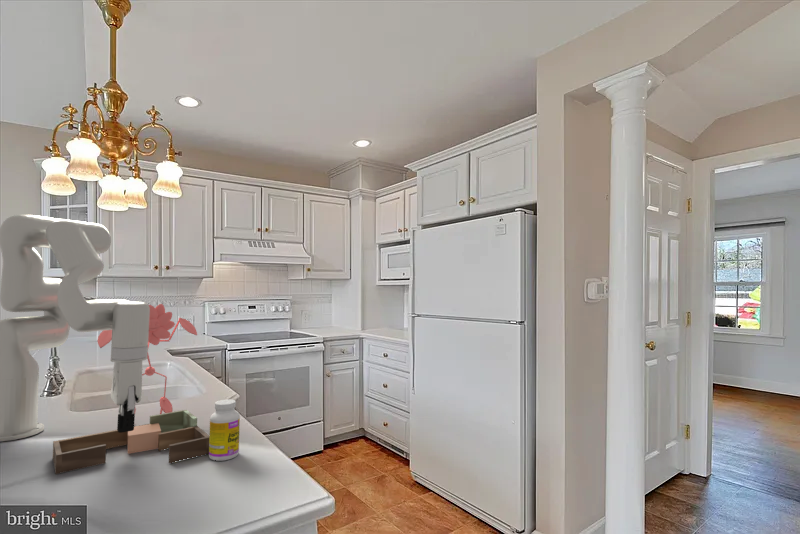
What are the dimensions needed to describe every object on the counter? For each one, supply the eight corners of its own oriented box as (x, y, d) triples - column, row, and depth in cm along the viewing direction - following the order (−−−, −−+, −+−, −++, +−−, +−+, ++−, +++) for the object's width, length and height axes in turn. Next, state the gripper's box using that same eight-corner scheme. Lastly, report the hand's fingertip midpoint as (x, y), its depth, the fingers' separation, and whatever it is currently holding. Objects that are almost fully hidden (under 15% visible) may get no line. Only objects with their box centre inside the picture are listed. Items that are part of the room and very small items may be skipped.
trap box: (52, 458, 102) (53, 432, 103) (185, 431, 121) (186, 409, 122) (58, 491, 87) (59, 460, 87) (210, 453, 106) (211, 428, 106)
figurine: (91, 426, 125) (96, 304, 126) (187, 409, 143) (191, 301, 144) (101, 442, 114) (106, 307, 115) (204, 421, 132) (207, 304, 132)
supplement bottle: (228, 463, 100) (229, 406, 101) (202, 460, 102) (203, 404, 102) (244, 452, 107) (245, 399, 107) (220, 449, 108) (221, 397, 109)
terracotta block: (127, 445, 111) (127, 427, 112) (158, 440, 115) (158, 423, 115) (127, 454, 106) (128, 435, 106) (160, 448, 109) (161, 430, 109)
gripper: (106, 350, 108) (102, 425, 107) (116, 360, 97) (111, 444, 96) (141, 347, 113) (137, 419, 112) (154, 357, 101) (150, 436, 101)
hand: (125, 430), depth 104 cm, fingers closed
